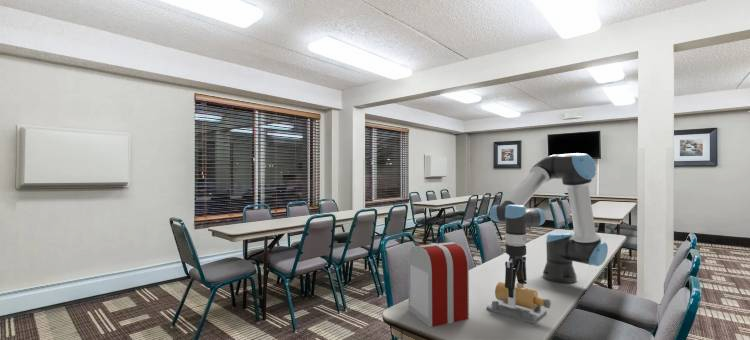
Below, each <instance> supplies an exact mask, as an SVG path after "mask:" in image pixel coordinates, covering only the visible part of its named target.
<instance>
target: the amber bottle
mask: <svg viewBox="0 0 750 340" xmlns="http://www.w3.org/2000/svg"><path fill="white" fill-rule="evenodd" d="M514 289H516V305H518V306H522V307H525V308H529V309H532V310H535V309H536V307H537V305H540V306H541V307H544V308H545V309H550V308H551V305H552V303H551V302H552V301H551V300H550V299H547V298H542V297H539V293H538V291H537V290H534V289H529V288H526V287H524V288H523V287H519V286H516V285H515V288H514ZM494 295H495V299H497V301H498V300H501V301H504V302H508V288H505V282H501V281H499V282H497V284H496V286H495V289H494Z"/></svg>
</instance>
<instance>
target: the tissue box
mask: <svg viewBox="0 0 750 340" xmlns="http://www.w3.org/2000/svg"><path fill="white" fill-rule="evenodd" d="M445 242H446V243H445ZM445 242H441V243H436V242H432V243H428V244H419V245H413V246H412V247H410V249H409V253H408V261H407V262H408V311H409V312H410V313H411V314H412V315H414V316H415V317H416V318H418V319H419V320H420V321H421V322H423V323H424V324H425V325H427V326H428V327H430V328H432V327H437V326H443V325H446V324H454V323H455V322H460V321H465V320H468V319H470V299H469V297H470V287H469V285H470V284H469V283H470V281H469V280H470V277H469V275H470V272H469V271H470V270H469V267H470V266H469V265H470V264H469V258H468V254H467V252H466V250H465V248H464V247H463V246H462V245H459V244H458V243H457V242H448V241H445Z"/></svg>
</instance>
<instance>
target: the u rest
mask: <svg viewBox="0 0 750 340" xmlns="http://www.w3.org/2000/svg"><path fill="white" fill-rule="evenodd" d="M541 308H542V306H540V305H537V307H536V309H535V310H532V309H529V308H525V307H522V306H518V305H516V306H511V305H508V302H504V301H501V300H498V299H497V300H493V301H491V303H490V304H489V305H488V306H486V310H487V311H491V312H494V313H497V314H500V315H504V316H506V317H509V318H513V319H516V320H519V321H523V322H524V323H529V324H532V325H534V324H535V323H537V322H538V321H539V320H540V319H542V318H543V317H544V316H545V315H546V314H547V312H548V311H547V310H544V309H541Z"/></svg>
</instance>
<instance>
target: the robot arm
mask: <svg viewBox="0 0 750 340" xmlns="http://www.w3.org/2000/svg"><path fill="white" fill-rule="evenodd" d="M596 171H597V166H596V163H595V160H594V159H593V157H591V155H589V154H588V153H579V152H576V153H575V152H574V153H563V154H562V153H561V154H560V153H559V154H558V153H557V154H552V155H548V156H546V157H544V158H542V159H540V160H539V161H538V162H537V163H535V164H534V165H533V166H532V167H531V168H530V169H529V173H528V175H527V176H526V177H525V178H524V179H523V180H522V181H521V182H520V183H519V185H518V186H517V187H516V188H515V189H514V190H513V191H512V192H511V193H510V194H509V195H508V196H507V198H506V199H505V200H504V201H503V202H502V203H501V204H494V205H492V206H491V208H490V210H489V216H490V219H491V220H492V221H493V222H497V223H500V224H501V223H502V224H505V234H504V235H505V236H504V237H505V243H506V244H505V254H507V255H508V256H509V257H508V261H505V262H504V265H505V272H504V273H505V276H504V279H505V280H504V283H505V288H508V305H511V306H516V289H514V288H515V286H519V287H523V288H525V285H527V283H528V282H527V278H528V277H527V267H526V266H527V264H526V261H527V257H526V255H527V246H526V244H527V239H528V237H527V229H528V228H534V227H535V228H536V227H539V226H541V225H543V224H544V223H545V222H546V218H547V217H546V213H545V211H544V210H543V209H541V208H539V207H526V206H525V205H526V204H527V203H528V202H529V201H530V199H531V198H532V197H533V196H534V195H535V193H537V191H538V190H539V189H540V188H541V187H542V186H543V185H544V184H547V183H548V182H549V181H551V180H554V179H558V180H559V179H560V180H561V181H562V185H564V186H565V187H566V189H567V194H568V195H567V196H568V200H569V208H570V215H571V220H572V226H573V234H572V233H570V232H554V233H549V234H546V235H547V236H546V242H545V245H546V263H545V266H544V269H543V271H542V277H543V278H544V279H545V280H548V281H551V282H556V283H563V284H567V283H568V284H571V283H572V284H573V283H575V282H577V281H578V280H577V279H578V278H577V274H576V271H575V268H574V265H573V262H575V263H580V264H584V265H588V266H595V267H599V266H602V265H603V264H604V263H605V261H606V259H607V256H608V249H609V248H608V244H607V243H606V242H605V241H602V240H601V236H600V234H598V233H597V232H596V227H595V219H594V215H593V214H594V213H593V208H592V207H593V206H592V201H591V194H590V193H591V192H590V188H589V187H590V183H592V181H593V179H594V178H595V177H596V174H597V173H596ZM516 279H517V280H516ZM516 281H517V282H516Z"/></svg>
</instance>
